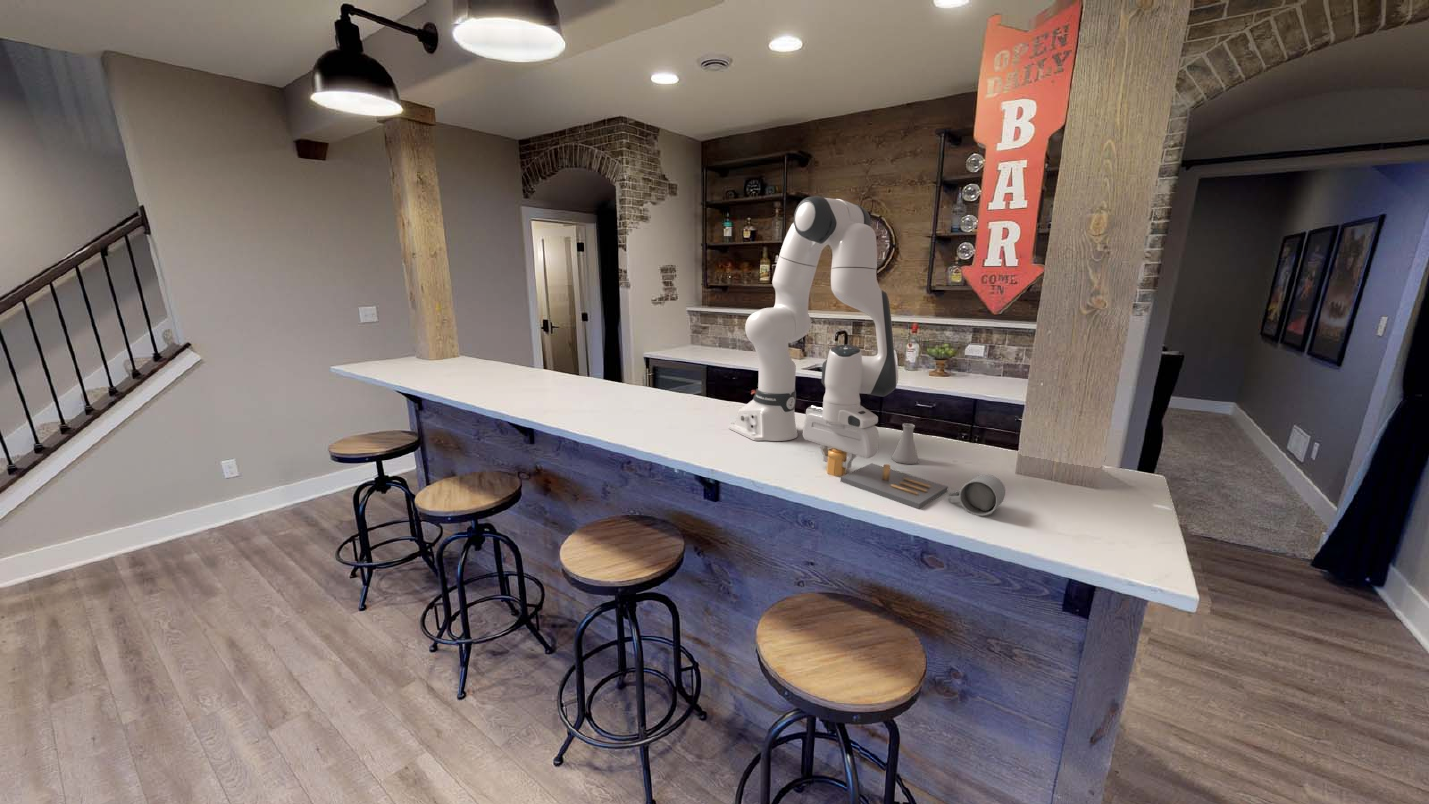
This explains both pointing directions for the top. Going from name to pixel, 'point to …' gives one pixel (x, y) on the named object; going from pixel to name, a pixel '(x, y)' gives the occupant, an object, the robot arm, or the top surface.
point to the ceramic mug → (980, 495)
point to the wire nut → (836, 462)
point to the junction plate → (894, 485)
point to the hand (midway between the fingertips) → (836, 464)
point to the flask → (906, 447)
